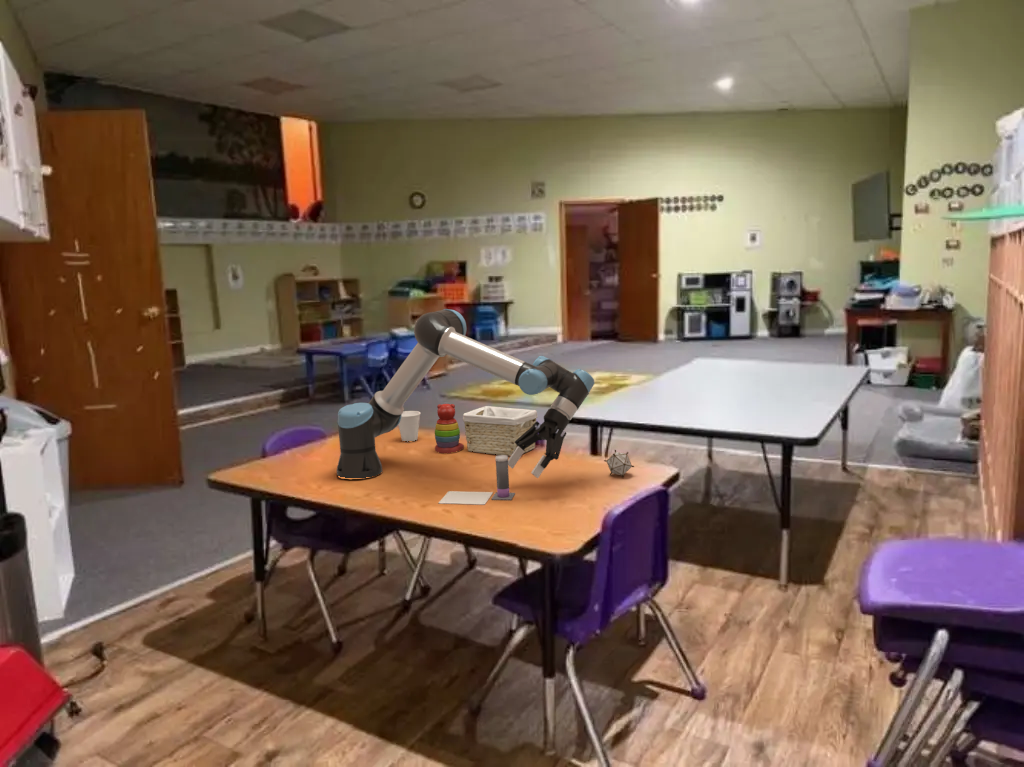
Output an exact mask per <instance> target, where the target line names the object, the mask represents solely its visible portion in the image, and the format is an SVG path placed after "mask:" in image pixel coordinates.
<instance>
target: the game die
mask: <svg viewBox="0 0 1024 767" xmlns="http://www.w3.org/2000/svg"><path fill="white" fill-rule="evenodd" d="M603 461H604V462H606V463H607V464H606V465H607V466H608V468H609V471H610V474H609V476H612V475H618V476H621V477H622V478H623V477H625V476H624V475H625V474H626V473H627V472H628V471H629V470H630V469H631V468H635V465H632V462H631V460H630V458H629V451H627V452H626V453H624V452H620V451H617V450H616V449H614V452H613V453H612V455H611V456H610V457H609V458H607V459H604V460H603ZM611 474H612V475H611Z"/></svg>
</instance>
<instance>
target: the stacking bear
mask: <svg viewBox="0 0 1024 767" xmlns="http://www.w3.org/2000/svg"><path fill="white" fill-rule="evenodd" d="M436 408H437V412H436V413H437V417H438V419H437V421H436V423H435V426H434V427H435V429H434V440H435V442H436V444H435V446H434V451H435V452H436V453H438V452H439V454H444V453H447V454H452V453H451V452H455V453H457V452H456V451H458V452H460V451H462V450H464V448H465V445H464V443H462V442H460V437H461V432H460V427H459V423H458V421H457V419H456V418H455V416H456V405H455V404H454V403H450V404H449V403H443V404H441V403H439V404H437V406H436ZM461 449H462V450H461ZM459 450H460V451H459Z"/></svg>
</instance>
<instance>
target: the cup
mask: <svg viewBox="0 0 1024 767" xmlns="http://www.w3.org/2000/svg"><path fill="white" fill-rule="evenodd" d="M421 414H422V413H421V412H420V411H418V410H405V411H403V413H402V414H401V415H402V416H401V420H400V423H399V424H398V425H397V426H398V429H399V434H400V437H401V441H402V442H403V441H407V442H406V443H409V442H408V441H414V442H416V441H417V440H418V437H419V426H420V417H421ZM415 440H416V441H415Z"/></svg>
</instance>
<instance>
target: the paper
mask: <svg viewBox="0 0 1024 767" xmlns="http://www.w3.org/2000/svg"><path fill="white" fill-rule="evenodd" d="M493 493H494V492H493V491H457V490H454V491H453V490H451V491H450V490H449V491H448V490H447V492H446V494H445V495H444V496H443V497H442V498H441V499H440V500H439V501H438V504H443V505H473V506H474V505H475V506H476V505H477V506H486V504H487V502H488V501H489V499H490V498H492V496H493V495H494V494H493Z"/></svg>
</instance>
